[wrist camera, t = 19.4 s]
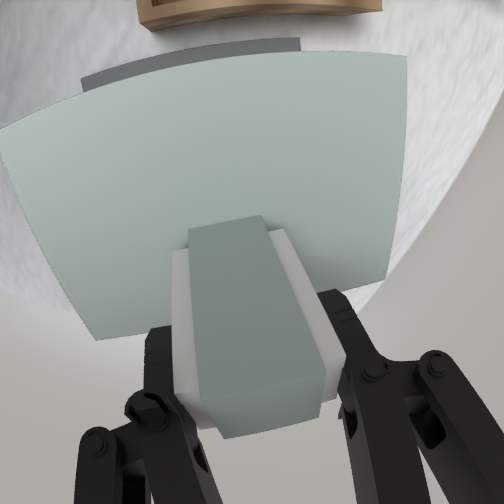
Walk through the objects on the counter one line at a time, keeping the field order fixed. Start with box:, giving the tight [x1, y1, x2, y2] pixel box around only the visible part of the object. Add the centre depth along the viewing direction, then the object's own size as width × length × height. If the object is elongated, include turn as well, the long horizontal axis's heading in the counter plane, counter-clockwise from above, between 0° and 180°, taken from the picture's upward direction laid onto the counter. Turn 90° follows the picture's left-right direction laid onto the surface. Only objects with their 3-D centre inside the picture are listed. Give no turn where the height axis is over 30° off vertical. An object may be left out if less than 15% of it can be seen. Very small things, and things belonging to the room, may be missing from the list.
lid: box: [0, 51, 407, 439], centre depth 11 cm, size 18×13×9 cm
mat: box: [81, 37, 301, 92], centre depth 27 cm, size 20×15×1 cm
